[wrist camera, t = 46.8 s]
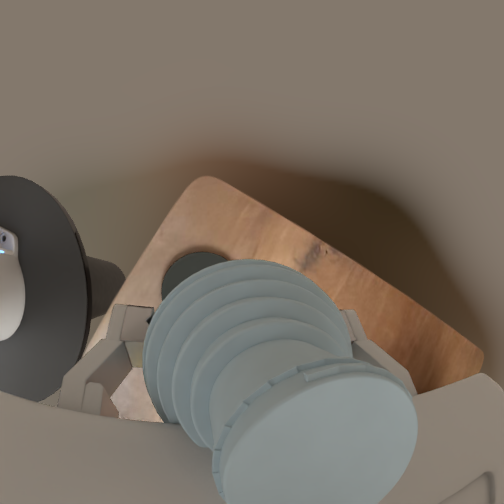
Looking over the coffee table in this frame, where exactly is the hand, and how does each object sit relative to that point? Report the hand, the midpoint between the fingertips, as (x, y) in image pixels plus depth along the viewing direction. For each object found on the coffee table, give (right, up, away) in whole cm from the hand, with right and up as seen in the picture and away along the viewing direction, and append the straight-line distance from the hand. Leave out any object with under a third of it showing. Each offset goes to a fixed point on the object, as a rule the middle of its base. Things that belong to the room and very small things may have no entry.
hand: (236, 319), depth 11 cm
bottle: (-2, -2, +11) cm, 11 cm away
